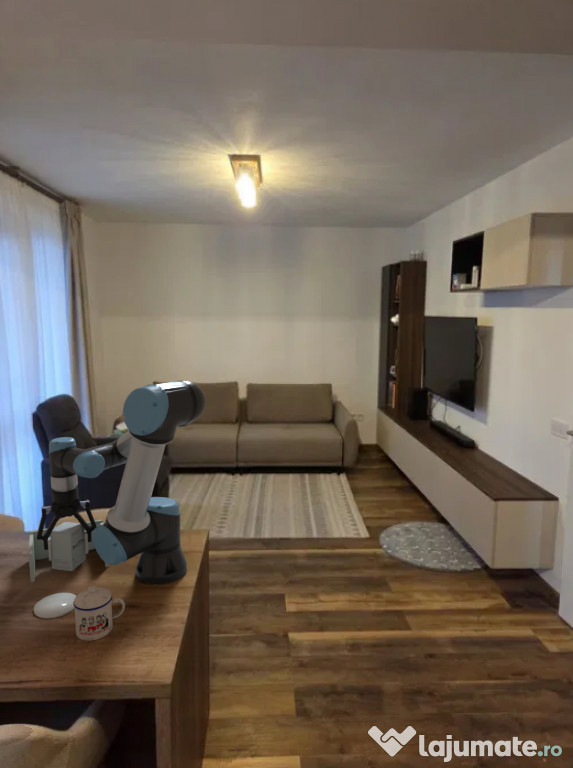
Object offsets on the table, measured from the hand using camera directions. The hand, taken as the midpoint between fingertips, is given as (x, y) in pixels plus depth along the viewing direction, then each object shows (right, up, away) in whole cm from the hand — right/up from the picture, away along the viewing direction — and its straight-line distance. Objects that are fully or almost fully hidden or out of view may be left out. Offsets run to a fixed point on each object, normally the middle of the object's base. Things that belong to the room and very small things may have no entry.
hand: (68, 555), depth 157 cm
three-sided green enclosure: (0, -3, +2) cm, 3 cm away
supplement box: (0, -3, 0) cm, 3 cm away
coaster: (+6, -7, -22) cm, 23 cm away
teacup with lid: (+22, -8, -31) cm, 39 cm away
